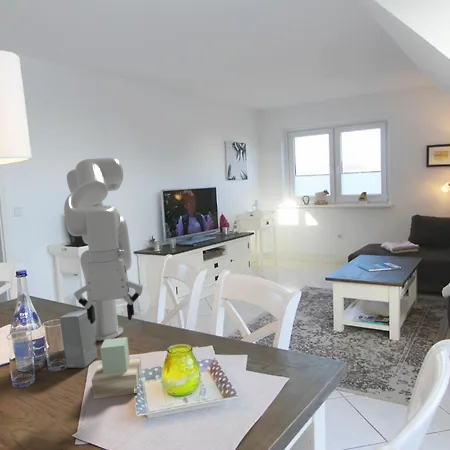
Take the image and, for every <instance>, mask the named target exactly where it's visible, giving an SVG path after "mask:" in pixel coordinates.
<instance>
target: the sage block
mask: <svg viewBox="0 0 450 450" xmlns="http://www.w3.org/2000/svg"><path fill="white" fill-rule="evenodd" d="M129 349H130V348H129V340H128V336H126V337H125V336H124V337H117V338H116V337H115V338H112V339H105V340H103V342H102V344H101V346H100V356H101V361H102V367H103V374H110V373H118V372H127V370H128V366H129V363H130V358H131V357H130V353H129V352H130V351H129Z"/></svg>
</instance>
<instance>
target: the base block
mask: <svg viewBox="0 0 450 450" xmlns="http://www.w3.org/2000/svg"><path fill="white" fill-rule="evenodd" d="M129 358H130V363H129V366H128V370H127V372H118V373H110V374H103V367H102V360H101V361H99V363H98V365H97V368H96V369H95V371H94V374H93V376H92V378H91V385H92V386H91V387H92V394H93V399H94V400H95V399H96V400H97V399H103V398H111V397H118V396H119V397H120V396H127V395H134V394H133V393H134V387H136V388H137V387H138V382H139V378H140V372H141V370H142V362H141V361H142V360H141V357H140V356H139V357H138V356H136V357H129Z"/></svg>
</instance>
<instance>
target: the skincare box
mask: <svg viewBox="0 0 450 450" xmlns="http://www.w3.org/2000/svg"><path fill="white" fill-rule="evenodd" d="M59 322H60V323H59V324H60V330H61V337H62V338H61V339H62V343H63V350H64V357H65V364H66V368H87V367H88V366H89V365H90V364H91V363H92V362H94V361H95V360H96V359H97V358H99V357H98V356H99V355H98V348H97V341H96V340H95V333H94V325H93V324H90V320H88V316H87V309H85V308H84V309H73V310H72V311H69V312H65V314H64V315H61V316H60V317H59Z"/></svg>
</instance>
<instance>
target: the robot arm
mask: <svg viewBox="0 0 450 450" xmlns="http://www.w3.org/2000/svg"><path fill="white" fill-rule="evenodd" d="M123 180H124V169H123V166H122V164H121V162H120V160H118V159H116V158H115V157H102V158H101V157H100V158H87V159H82V160H81V161H79V162H78V163H77V164H76V166H75V168H74V169H72V170H70V171H67V174H66V182H67V186H68V189H69V193H70V194H68V196H67V197H66V200H65V202H64V206H63V207H64V208H63V210H64V211H63V213H64V223H65V228H66V231H67V232H68V234H70V235H71V236H74V237H82V238H81V239H82V240H83V243H84V244H86V245H88V246H87V247H88V249H87V250H84V251H83V252H82V253H81V254H80V259H79V262H80V267H81V271H82V273H83V278H84V284H85V285H84V286H83V287H81V288H79V289H77V290H76V291H75V292H74V293H73V295H74V298H76V300H77V301H78V303H79V304H80V305H82V306H83V307H84V310H85V309H87V316H88V320H90V324H93V325H94V333H95V340H96V342H99V341H101V342H102V341H104V340H105V339H114V338H116V337H117V338H118V337H119V336H121V335H122V334H123V333H124V328H123V327H122V326H120V325H119V322H118V312H117V304H116V303H117V302H116V300H124V301H125V302H126V303H127V304H126V312H127V319H128V320H129V321H130V320H132V319H133V316H135V308H134V303H135V301H136V300H137V299H139V296H140V294H141V291H142V289H143V285H141V284H138V283H136V282H133V281H131V280H129V276H128V271H129V270H130V269H131V267H132V264H133V263H132V253H131V245H130V244H131V243H130V235H129V229H128V225H127V221H126V219H125V217H123V216H121V213H120V211H119V210H118V209H117V208H116V207H115V206H114V205H104V203H103V201H104V200H106V199H107V197H108V193H109V192H114V191H117V190H119V189H120V187H121V185H122V183H123ZM130 288H131V289H134V290H135V292H134V294H133V295H131V294H130ZM85 292H86V297H87V298H85V297H84V296H83V293H85Z"/></svg>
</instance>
